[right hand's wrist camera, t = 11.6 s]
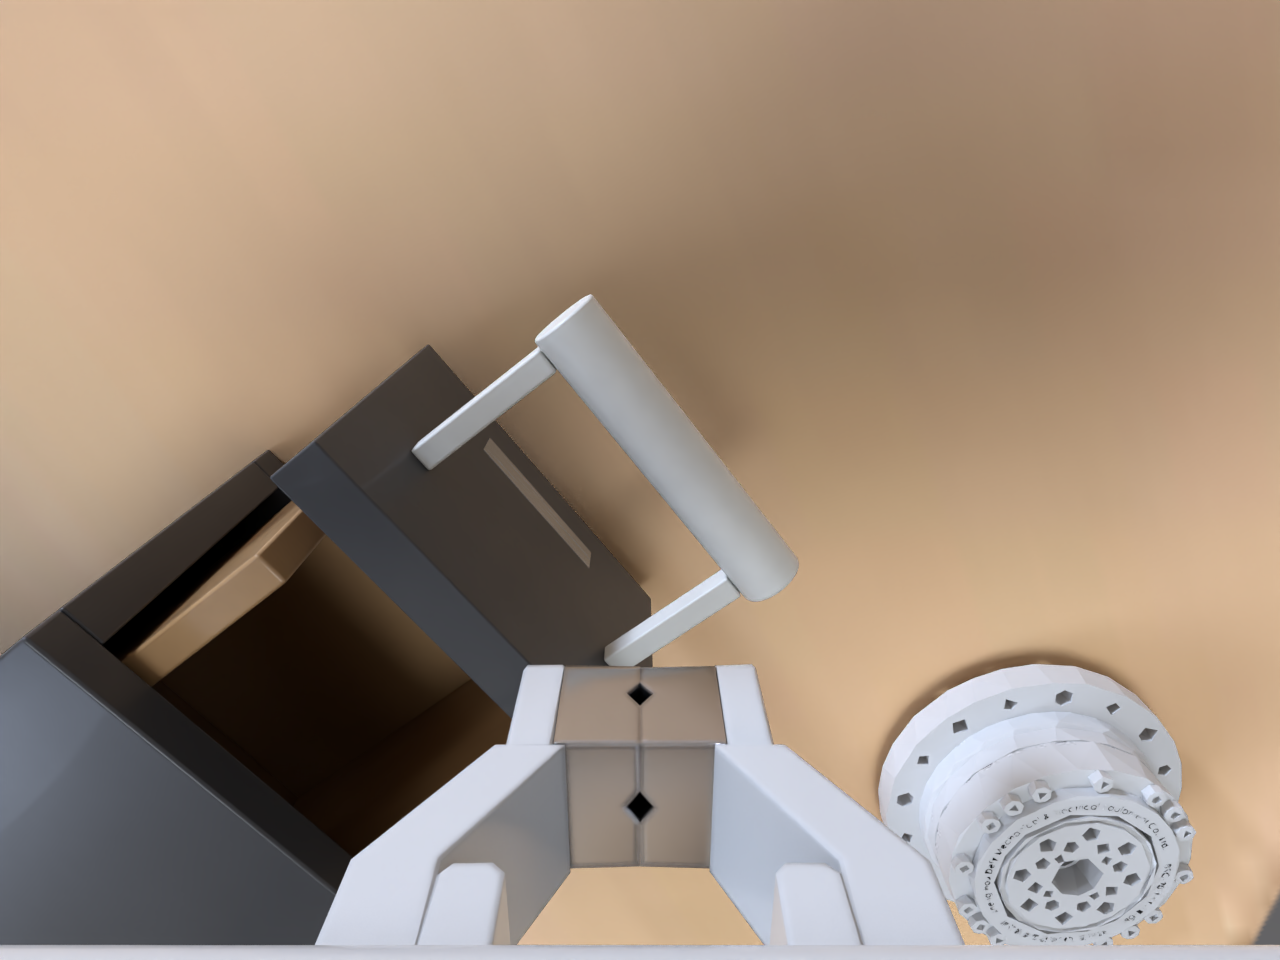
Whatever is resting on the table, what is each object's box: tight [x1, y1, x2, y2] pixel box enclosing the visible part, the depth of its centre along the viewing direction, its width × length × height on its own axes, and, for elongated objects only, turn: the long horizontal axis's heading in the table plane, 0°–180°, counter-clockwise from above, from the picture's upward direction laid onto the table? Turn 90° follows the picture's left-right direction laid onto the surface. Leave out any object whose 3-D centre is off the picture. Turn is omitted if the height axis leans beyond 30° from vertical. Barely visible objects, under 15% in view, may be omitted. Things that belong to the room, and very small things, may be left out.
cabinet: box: [0, 450, 353, 945], centre depth 23 cm, size 16×11×10 cm
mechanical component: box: [878, 664, 1196, 945], centre depth 27 cm, size 10×4×10 cm
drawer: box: [108, 294, 799, 857], centre depth 21 cm, size 19×10×8 cm, turn 128°
